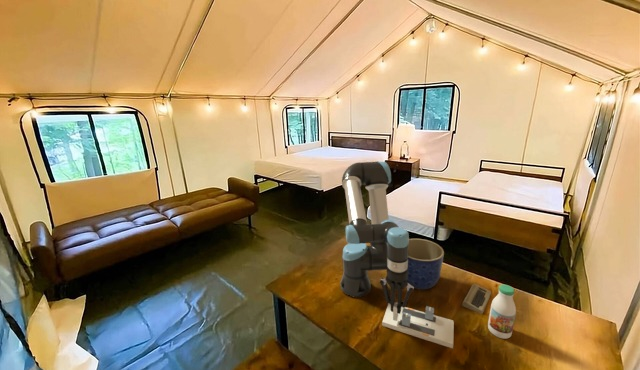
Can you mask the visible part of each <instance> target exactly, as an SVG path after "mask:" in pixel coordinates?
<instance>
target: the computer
mask: <svg viewBox="0 0 640 370" xmlns="http://www.w3.org/2000/svg"><path fill="white" fill-rule="evenodd" d="M491 296H492V292H491V290H490V289H487V288H485V287H483V286H480V285H478V284H476V283H472V285H471V287H470V289H469V290H468V292H467V294H466V295H465V297H464V299H463V301H462V304H461V306H462V307H464V308H466V309H468V310H470V311H473V312H476V313H478V314H480V315H482V314H483V313H484V311H485V310H486V307H487V304H488V302H489V300H490V298H491Z"/></svg>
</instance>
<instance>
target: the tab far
mask: <svg viewBox="0 0 640 370" xmlns="http://www.w3.org/2000/svg"><path fill="white" fill-rule="evenodd" d="M434 311H435V308H434V307H431V306H428V305H426V307H425V318H426V319H430V320H433V315H435V314H434V313H435V312H434Z"/></svg>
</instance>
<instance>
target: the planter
mask: <svg viewBox="0 0 640 370" xmlns="http://www.w3.org/2000/svg"><path fill="white" fill-rule="evenodd" d="M444 255H445V251H444V249H443V247H442V246H440V245H439V244H438V243H436V242H434V241H431V240H428V239H425V238H424V239H422V238H409V246H408V268H407V280H408V283H409V284H410V285H413V286H414V289H415V290H416V289H417V290H429V289H432V288H433V287H434V286H436V285H437V283H438V282H439V280H440V277H441V271H442V266H443V262H444Z"/></svg>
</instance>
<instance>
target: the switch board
mask: <svg viewBox="0 0 640 370" xmlns="http://www.w3.org/2000/svg"><path fill="white" fill-rule="evenodd" d="M403 312H405V313H408V314H411V323H410V327H408V326H405V325H402V315H403ZM425 312H426V311H425ZM425 312H424V311H420V310H417V309H414V308H410V307H406V306H405V308H403V307H401V312H400V314H399V313H398V319H397V321H395V320H393V312H392V311H391V304H390V303H387V307H386V310H385V313H384V316H383V319H382V321H381V322H382V324H381V326H382V327H384V328H388V329H391V330H394V331H397V332H400V333H404V334H407V335H410V336H412V337H416V338H419V339H422V340H425V341H429V342H431V343H434V344H438V345H440V346H444V347H447V348H450V349H454V336H455V335H454V330H455V329H454V328H455V327H454V325H455V324H454V322H455V321H454V320H452V319H449V318H446V317H443V316H440V315H439V316H438V315H435V314H434V315H433V320H430V319H426V318H425Z"/></svg>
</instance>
